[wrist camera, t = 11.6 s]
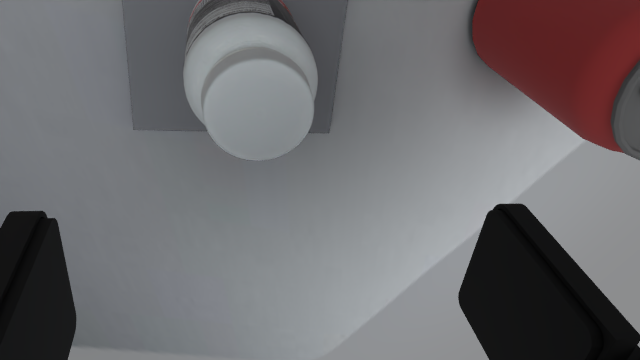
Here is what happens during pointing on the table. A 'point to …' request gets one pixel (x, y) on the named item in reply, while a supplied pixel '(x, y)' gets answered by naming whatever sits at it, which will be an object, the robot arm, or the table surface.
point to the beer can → (570, 61)
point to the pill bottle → (249, 76)
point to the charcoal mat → (169, 54)
